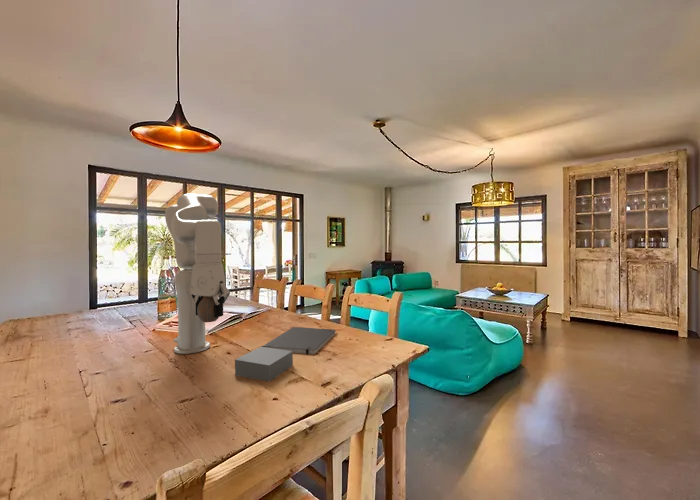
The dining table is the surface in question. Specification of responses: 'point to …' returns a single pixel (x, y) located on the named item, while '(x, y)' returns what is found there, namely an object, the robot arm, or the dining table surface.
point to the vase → (206, 309)
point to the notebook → (302, 340)
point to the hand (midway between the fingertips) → (209, 315)
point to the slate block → (263, 363)
